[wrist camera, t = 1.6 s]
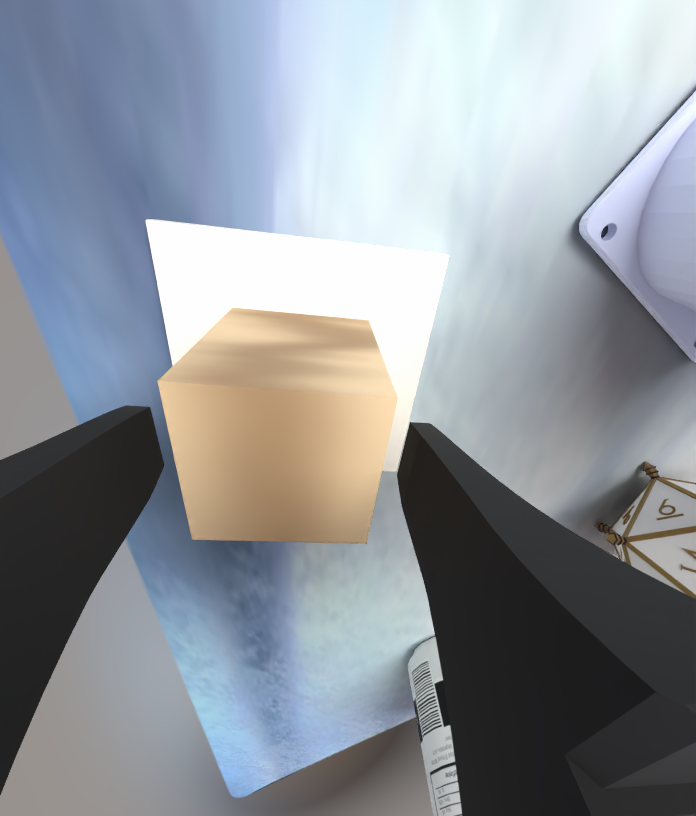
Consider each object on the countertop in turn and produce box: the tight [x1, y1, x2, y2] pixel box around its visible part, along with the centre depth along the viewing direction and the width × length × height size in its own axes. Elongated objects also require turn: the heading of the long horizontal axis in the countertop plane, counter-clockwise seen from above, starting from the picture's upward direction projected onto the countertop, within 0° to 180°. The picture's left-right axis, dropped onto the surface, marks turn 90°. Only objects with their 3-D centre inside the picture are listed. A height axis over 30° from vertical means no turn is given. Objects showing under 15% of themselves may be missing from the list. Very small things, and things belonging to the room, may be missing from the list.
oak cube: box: [158, 308, 398, 544], centre depth 11 cm, size 5×5×6 cm
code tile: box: [146, 219, 450, 472], centre depth 13 cm, size 10×10×1 cm
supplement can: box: [407, 637, 462, 816], centre depth 22 cm, size 8×8×15 cm
